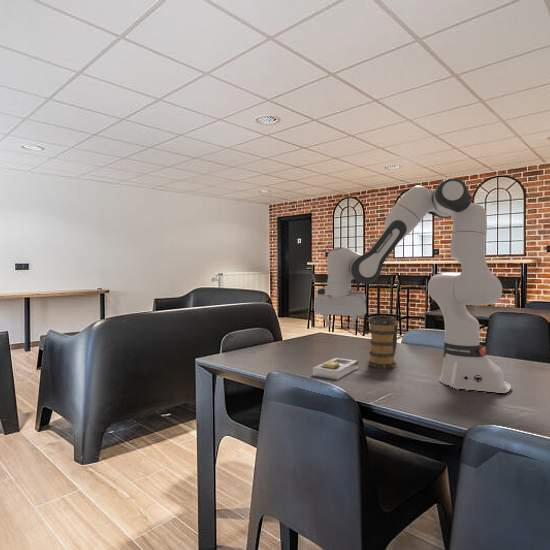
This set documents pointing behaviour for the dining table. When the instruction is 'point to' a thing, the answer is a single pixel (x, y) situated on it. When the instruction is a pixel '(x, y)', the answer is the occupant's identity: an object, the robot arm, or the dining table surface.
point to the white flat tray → (344, 369)
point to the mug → (382, 341)
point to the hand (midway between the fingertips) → (339, 326)
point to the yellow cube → (331, 365)
